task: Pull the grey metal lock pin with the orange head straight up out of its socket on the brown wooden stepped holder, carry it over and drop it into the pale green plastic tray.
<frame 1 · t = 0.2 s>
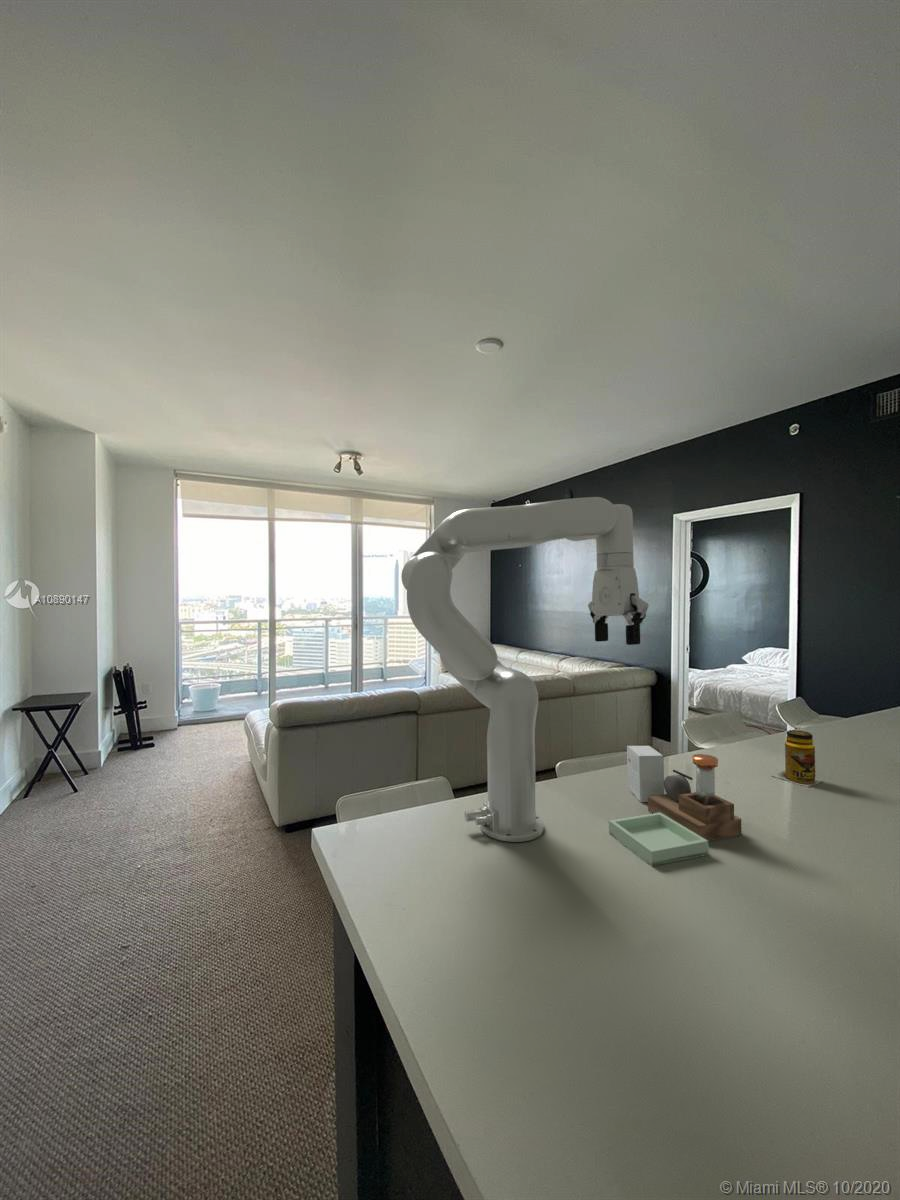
hand: (616, 642, 101), 36 cm above the kitchen island, tool pointing down, fingers open, 9 cm apart
lock pin: (705, 814, 93), point 3 cm above the kitchen island, touching brown wooden stepped holder
condiment: (796, 779, 119), on the kitchen island
small box: (645, 796, 109), on the kitchen island
tray: (656, 843, 87), on the kitchen island
brown wooden stepped holder: (692, 822, 96), on the kitchen island
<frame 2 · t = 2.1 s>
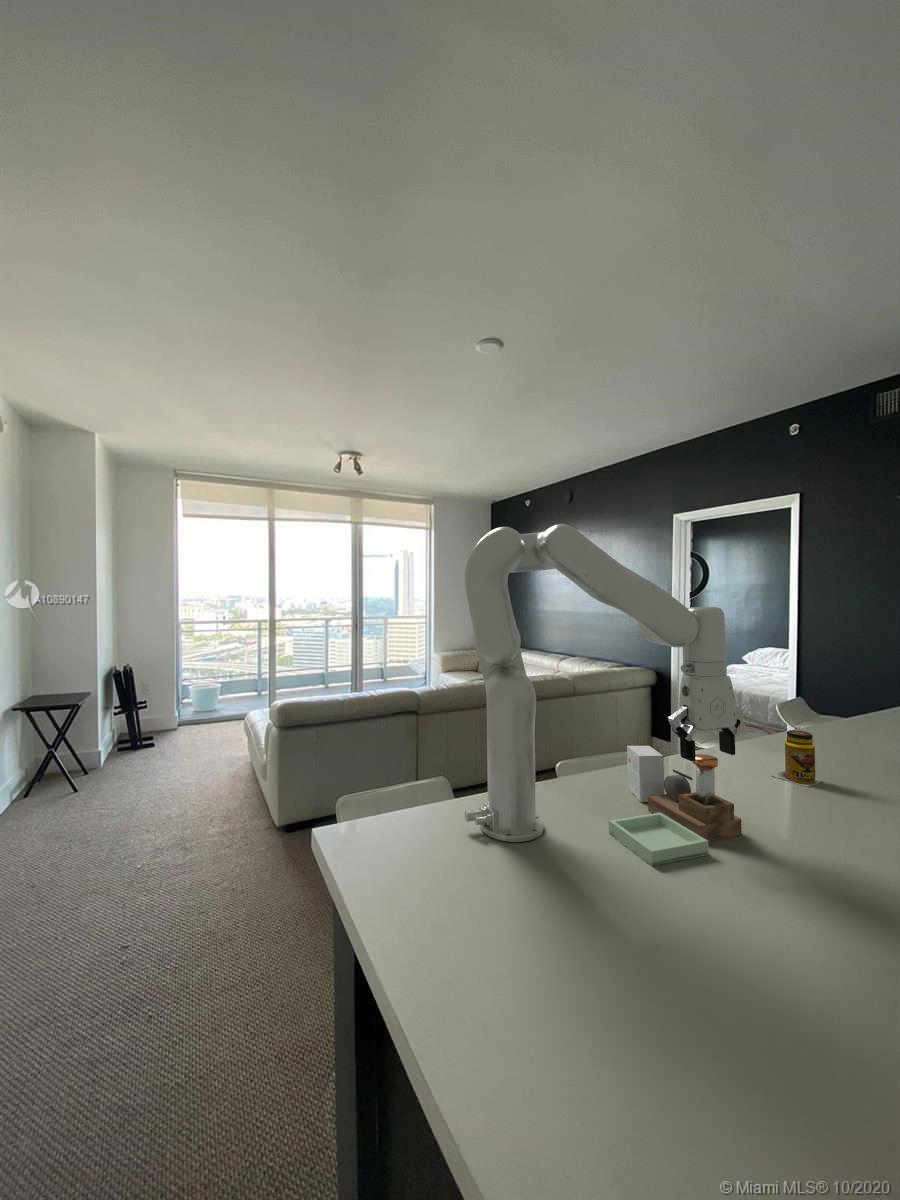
hand: (708, 756, 93), 15 cm above the kitchen island, tool pointing down, fingers open, 9 cm apart
nothing on the kitchen island moved.
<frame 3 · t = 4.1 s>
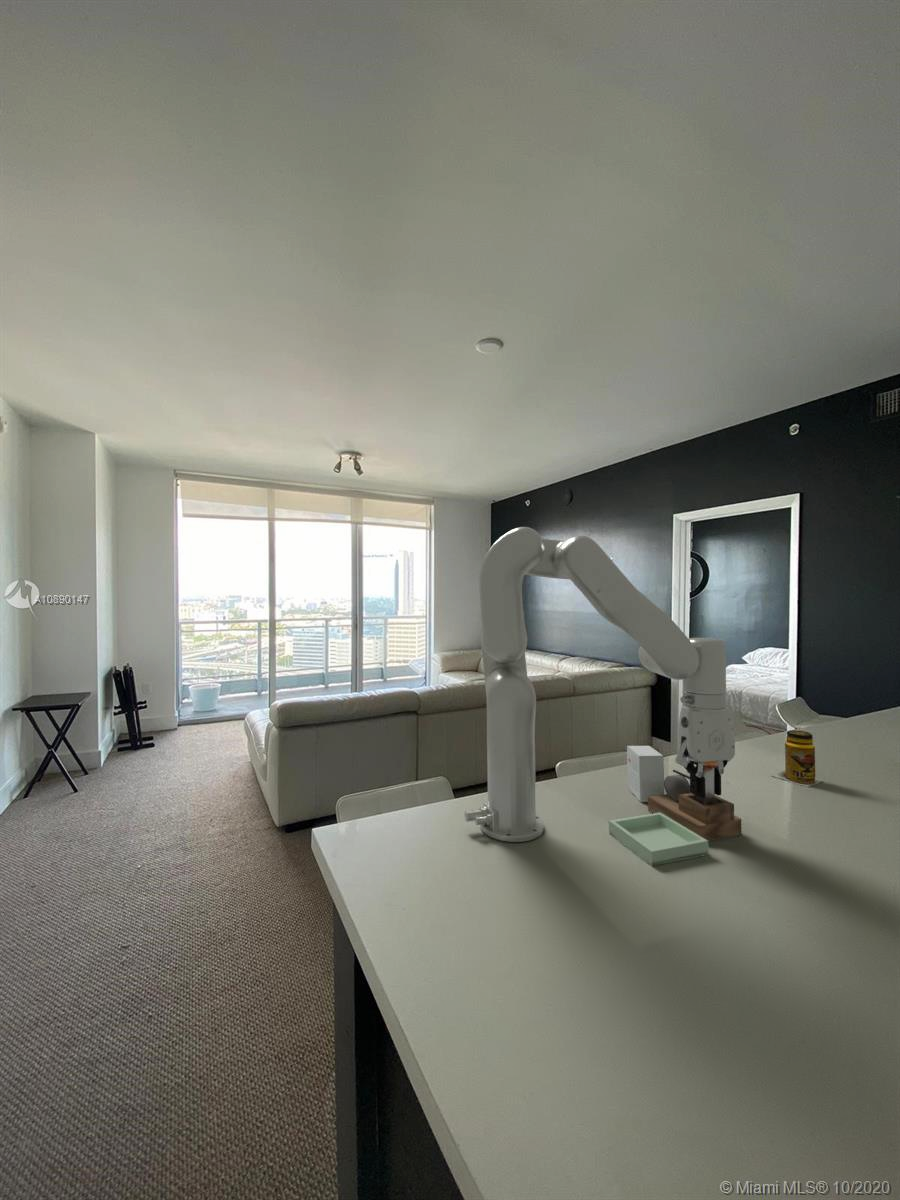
hand: (705, 793, 93), 7 cm above the kitchen island, tool pointing down, fingers closed on lock pin, 3 cm apart
lock pin: (705, 814, 93), point 3 cm above the kitchen island, touching gripper, brown wooden stepped holder
everything else where it was.
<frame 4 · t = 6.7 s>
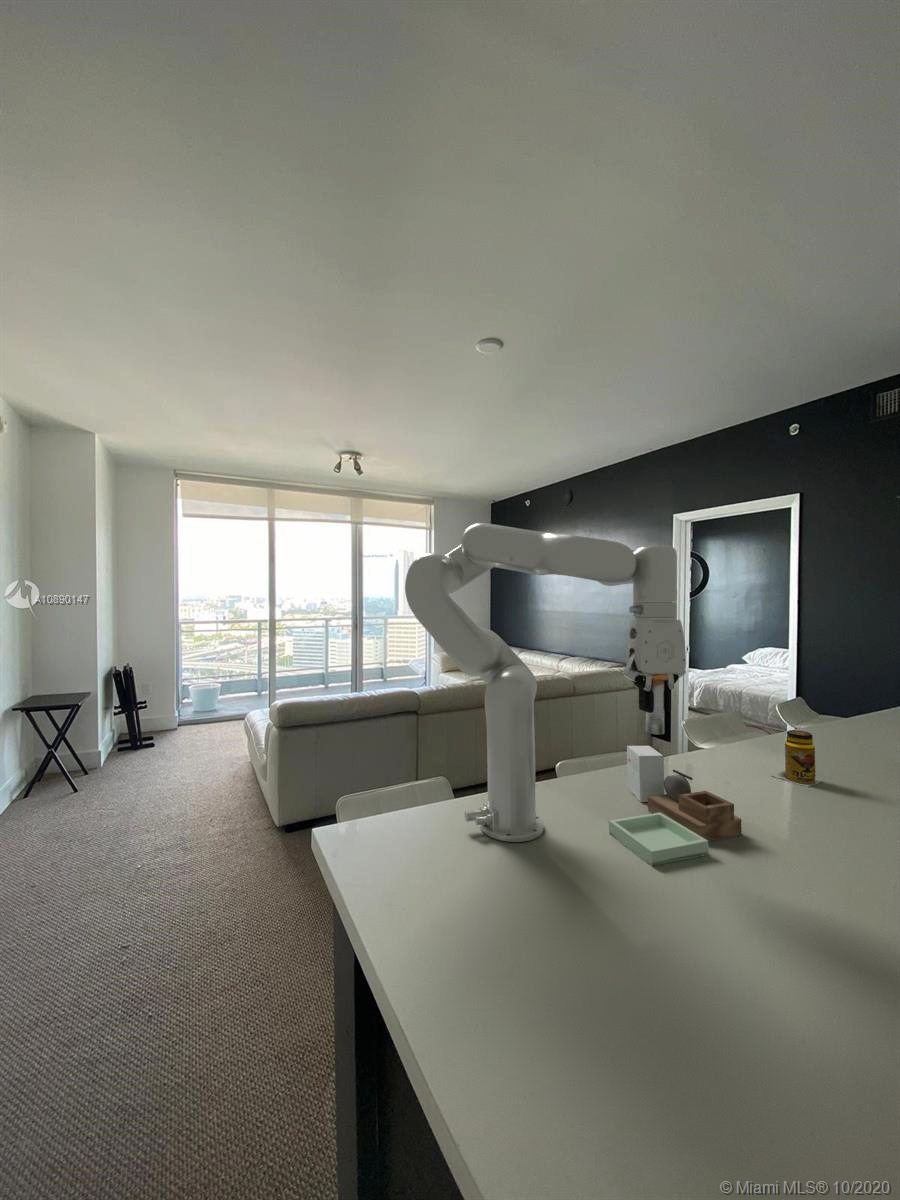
hand: (654, 709, 88), 25 cm above the kitchen island, tool pointing down, fingers closed on lock pin, 3 cm apart
lock pin: (654, 732, 88), point 21 cm above the kitchen island, touching gripper
everything else where it was.
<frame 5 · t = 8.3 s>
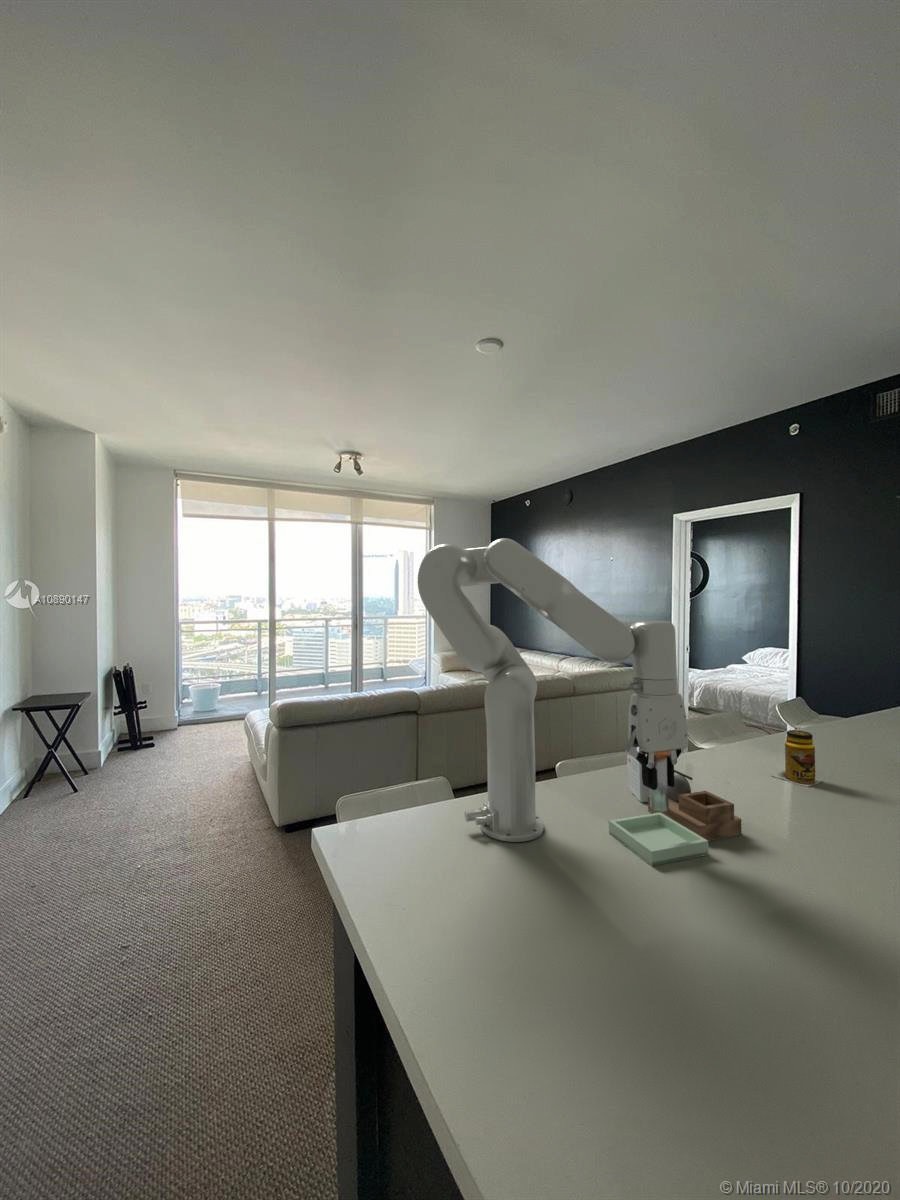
hand: (658, 784, 87), 11 cm above the kitchen island, tool pointing down, fingers closed on lock pin, 3 cm apart
lock pin: (659, 807, 87), point 7 cm above the kitchen island, touching gripper
everything else where it was.
when the fingers open (6 cm above the kitchen island, at t = 9.6 s): lock pin drops 1 cm, resting on tray.
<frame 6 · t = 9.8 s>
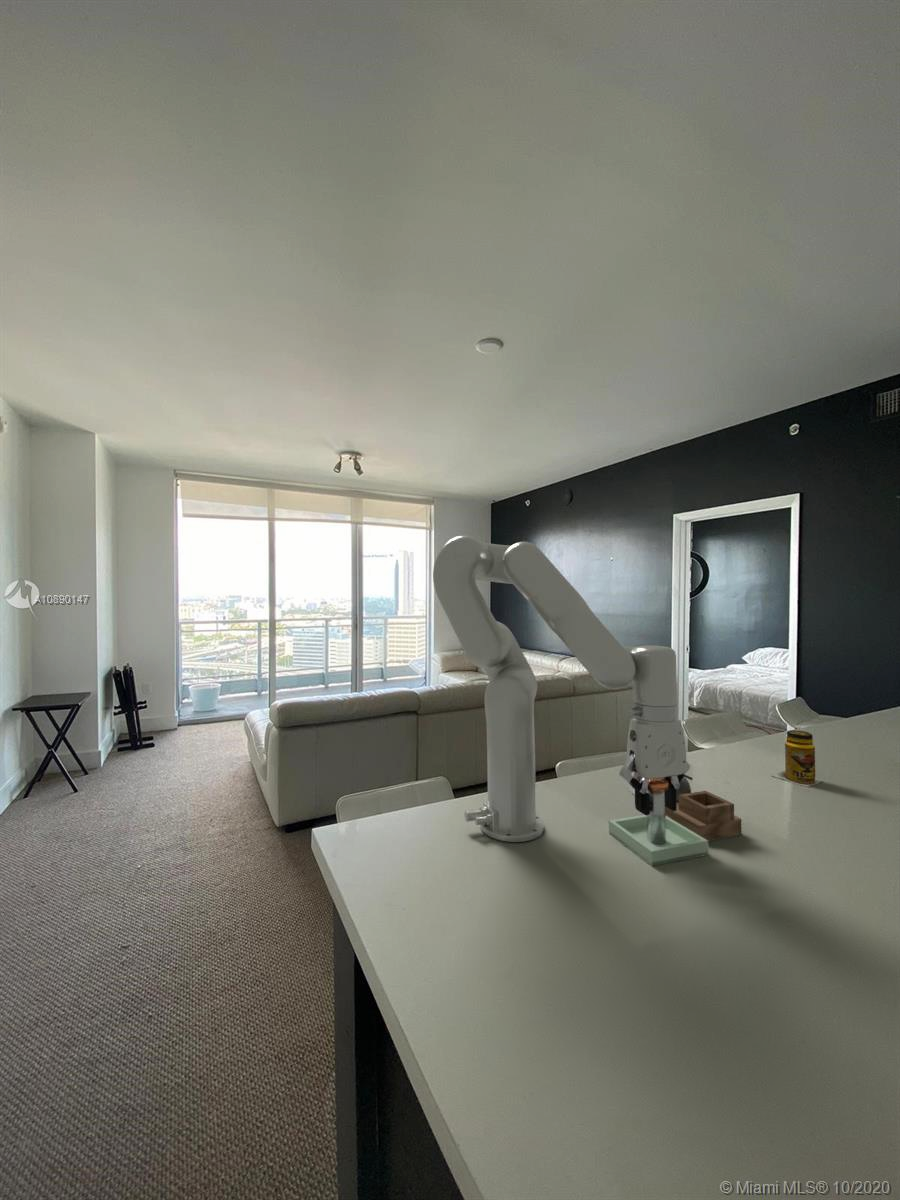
hand: (655, 809, 88), 6 cm above the kitchen island, tool pointing down, fingers open, 5 cm apart
lock pin: (656, 840, 87), point 1 cm above the kitchen island, touching tray
everything else where it was.
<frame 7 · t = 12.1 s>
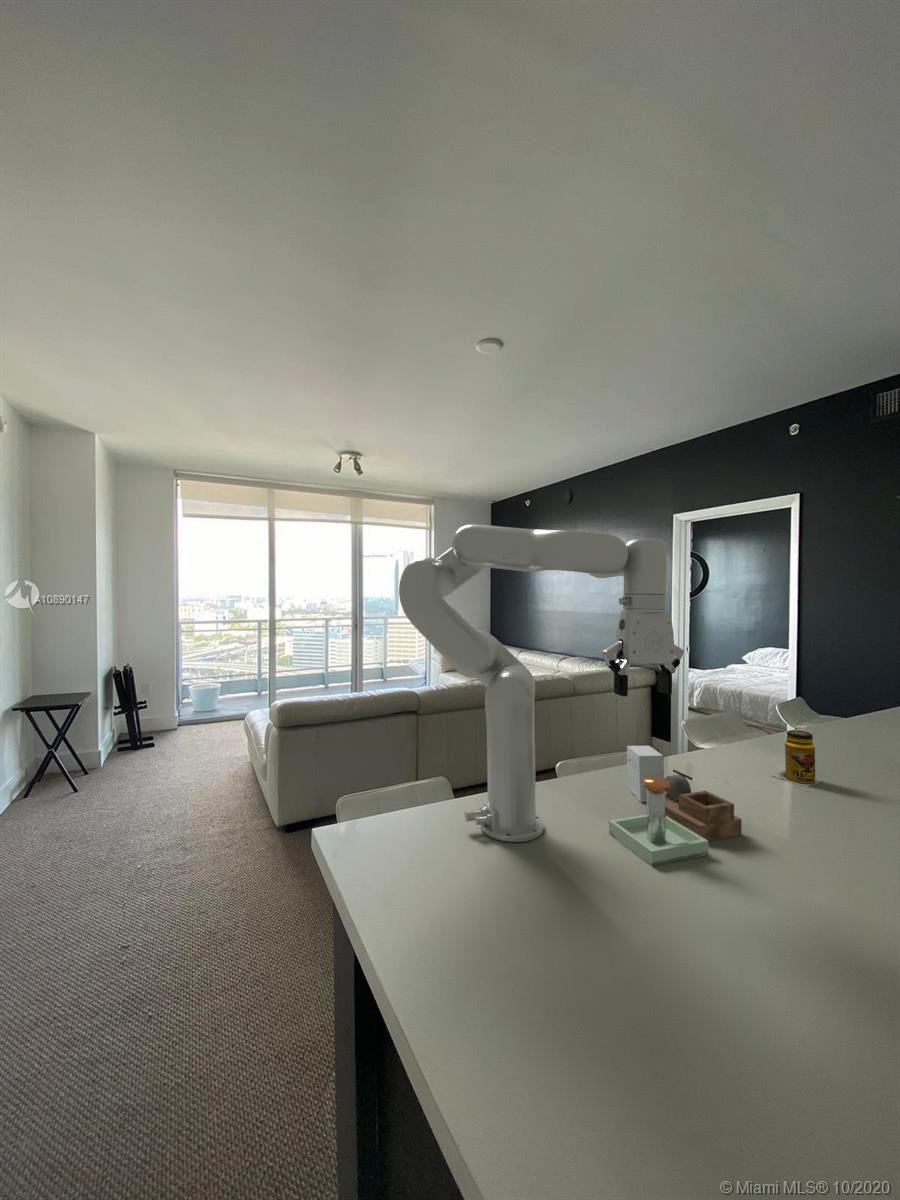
hand: (643, 694, 89), 27 cm above the kitchen island, tool pointing down, fingers open, 9 cm apart
nothing on the kitchen island moved.
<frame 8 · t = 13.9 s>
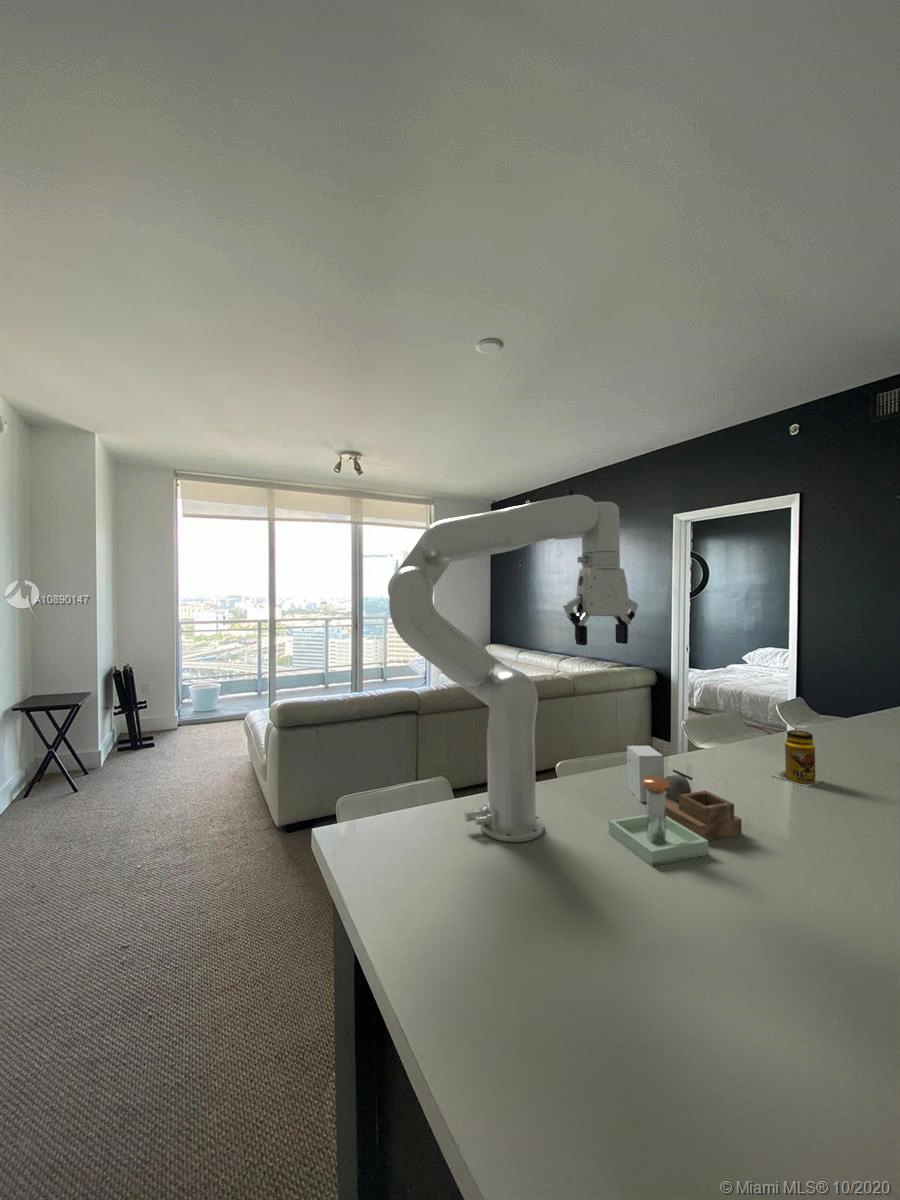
hand: (601, 644, 98), 36 cm above the kitchen island, tool pointing down, fingers open, 9 cm apart
nothing on the kitchen island moved.
at the end: lock pin inside the target area on the tray (0.0 cm from its centre), point 0.6 cm above the tray's base; the gripper is holding nothing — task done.
